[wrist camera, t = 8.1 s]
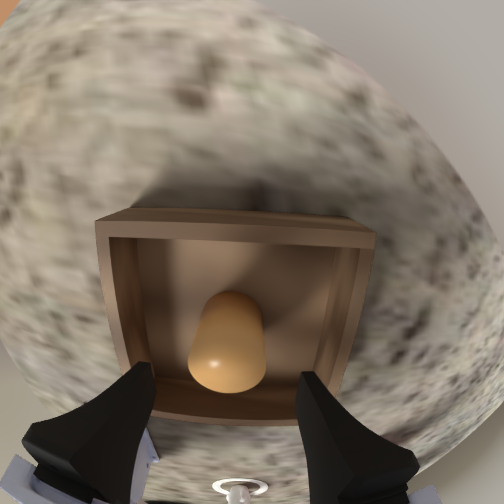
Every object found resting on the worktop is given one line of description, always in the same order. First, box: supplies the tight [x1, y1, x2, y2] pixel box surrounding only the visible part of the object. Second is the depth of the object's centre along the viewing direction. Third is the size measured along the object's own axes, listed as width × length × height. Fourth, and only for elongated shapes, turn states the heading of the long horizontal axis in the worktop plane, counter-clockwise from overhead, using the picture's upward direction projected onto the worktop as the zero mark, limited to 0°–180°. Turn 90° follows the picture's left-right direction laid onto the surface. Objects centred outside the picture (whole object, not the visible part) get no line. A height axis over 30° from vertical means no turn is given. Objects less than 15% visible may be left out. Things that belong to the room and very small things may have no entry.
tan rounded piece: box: [188, 291, 266, 393], centre depth 15 cm, size 4×4×5 cm
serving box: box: [95, 208, 377, 426], centre depth 16 cm, size 14×14×4 cm
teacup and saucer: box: [212, 478, 268, 504], centre depth 26 cm, size 9×8×4 cm
